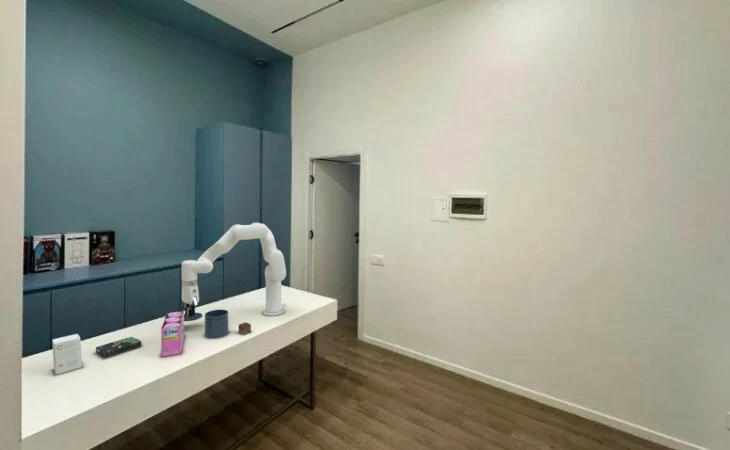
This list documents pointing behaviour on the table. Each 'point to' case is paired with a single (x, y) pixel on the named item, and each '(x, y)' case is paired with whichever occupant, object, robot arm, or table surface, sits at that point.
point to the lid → (192, 318)
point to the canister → (216, 323)
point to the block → (244, 328)
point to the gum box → (172, 333)
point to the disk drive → (118, 347)
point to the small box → (67, 353)
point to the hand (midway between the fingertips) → (190, 314)
